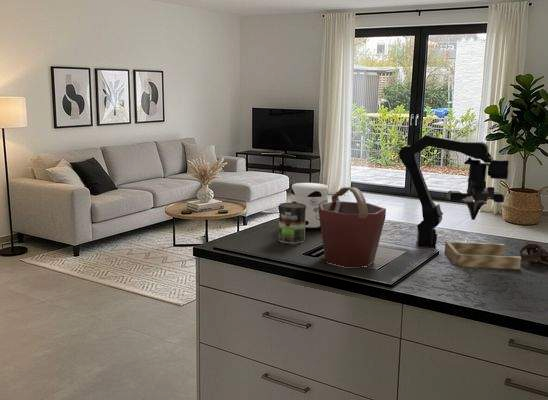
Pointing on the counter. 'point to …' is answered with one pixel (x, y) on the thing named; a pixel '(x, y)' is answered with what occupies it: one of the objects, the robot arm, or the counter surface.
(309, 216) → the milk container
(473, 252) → the wooden frame
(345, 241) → the bucket
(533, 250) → the pottery mug
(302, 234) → the coffee can
